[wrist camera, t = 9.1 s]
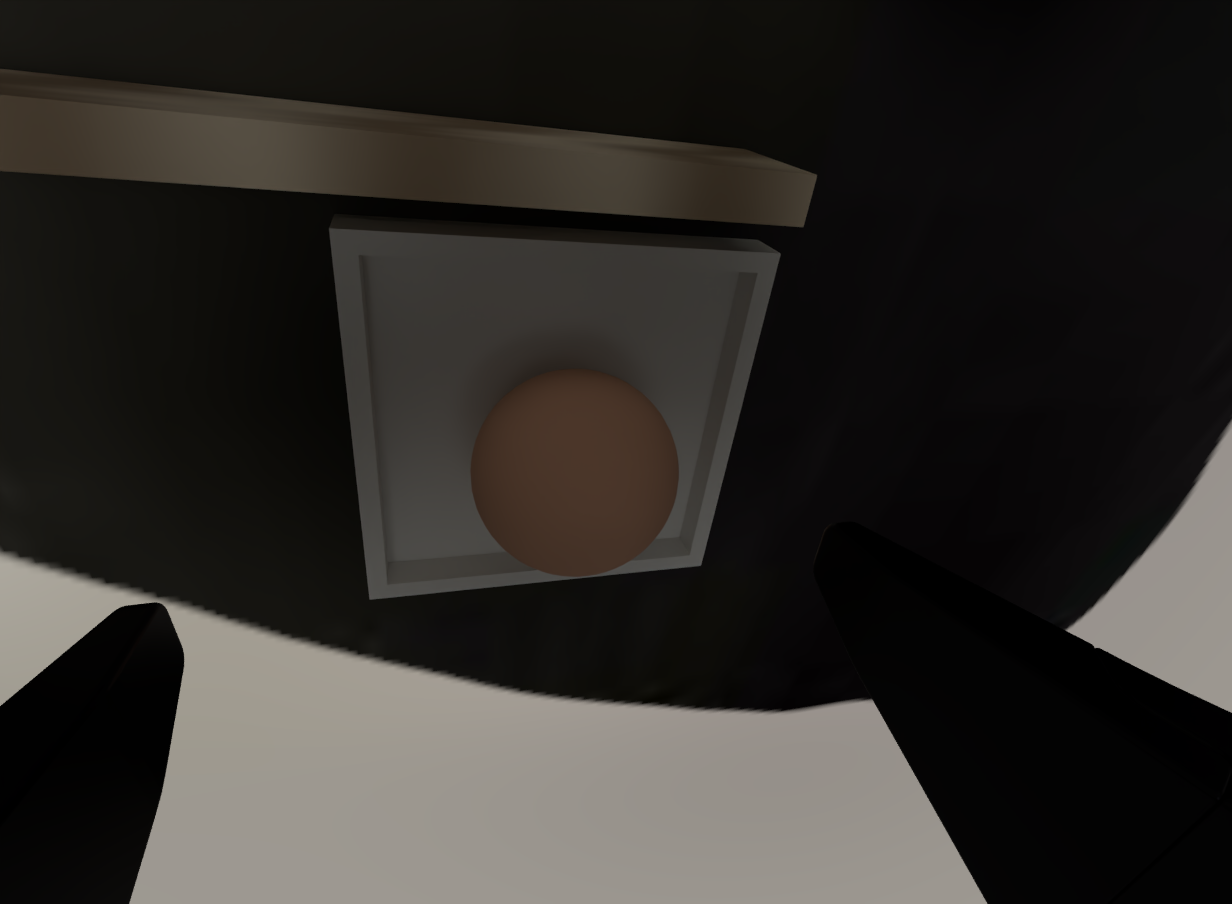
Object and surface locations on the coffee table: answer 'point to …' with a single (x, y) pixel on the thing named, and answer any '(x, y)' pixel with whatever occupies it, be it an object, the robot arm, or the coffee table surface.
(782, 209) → the rail
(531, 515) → the ball
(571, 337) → the coaster tray
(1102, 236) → the coffee table surface
